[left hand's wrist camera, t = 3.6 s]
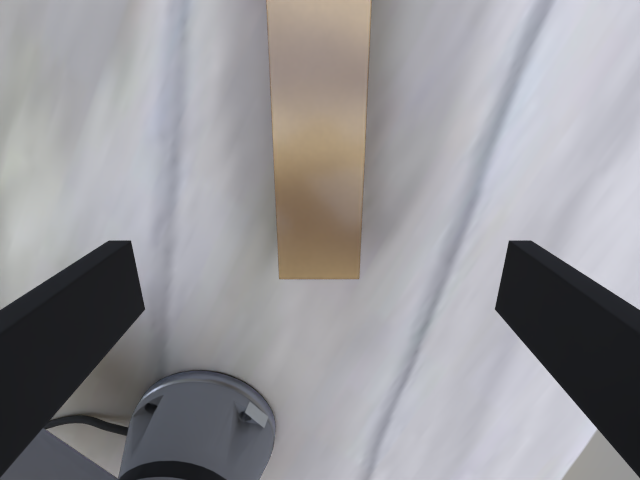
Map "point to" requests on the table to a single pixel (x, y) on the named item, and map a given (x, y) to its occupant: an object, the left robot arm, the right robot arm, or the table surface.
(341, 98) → the bar
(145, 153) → the table surface
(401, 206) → the table surface
